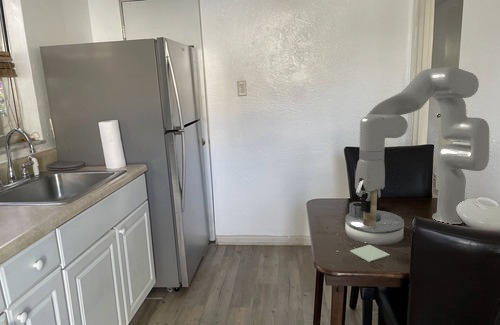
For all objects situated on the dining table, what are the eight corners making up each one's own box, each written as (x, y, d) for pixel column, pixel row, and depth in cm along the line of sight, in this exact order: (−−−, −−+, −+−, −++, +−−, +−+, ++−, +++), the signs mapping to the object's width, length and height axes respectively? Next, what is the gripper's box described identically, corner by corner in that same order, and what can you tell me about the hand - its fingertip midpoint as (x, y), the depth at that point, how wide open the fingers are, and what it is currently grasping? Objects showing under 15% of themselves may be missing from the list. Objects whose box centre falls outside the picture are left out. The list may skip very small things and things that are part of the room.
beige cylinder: (360, 224, 115) (362, 183, 113) (367, 221, 118) (368, 181, 115) (372, 227, 112) (373, 185, 110) (378, 224, 115) (379, 183, 112)
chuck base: (373, 219, 148) (373, 210, 147) (416, 236, 129) (416, 226, 128) (334, 229, 139) (334, 220, 138) (373, 249, 120) (374, 238, 119)
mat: (369, 245, 123) (369, 244, 123) (389, 255, 115) (389, 254, 115) (349, 251, 119) (349, 250, 119) (369, 262, 111) (369, 261, 111)
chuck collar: (415, 223, 130) (415, 209, 129) (381, 238, 119) (382, 222, 118) (367, 209, 147) (367, 197, 146) (334, 221, 136) (334, 208, 134)
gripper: (376, 151, 119) (375, 202, 122) (345, 157, 109) (344, 213, 112) (397, 153, 113) (395, 207, 116) (365, 160, 103) (364, 219, 106)
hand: (370, 209), depth 114 cm, fingers closed on beige cylinder, 4 cm apart
